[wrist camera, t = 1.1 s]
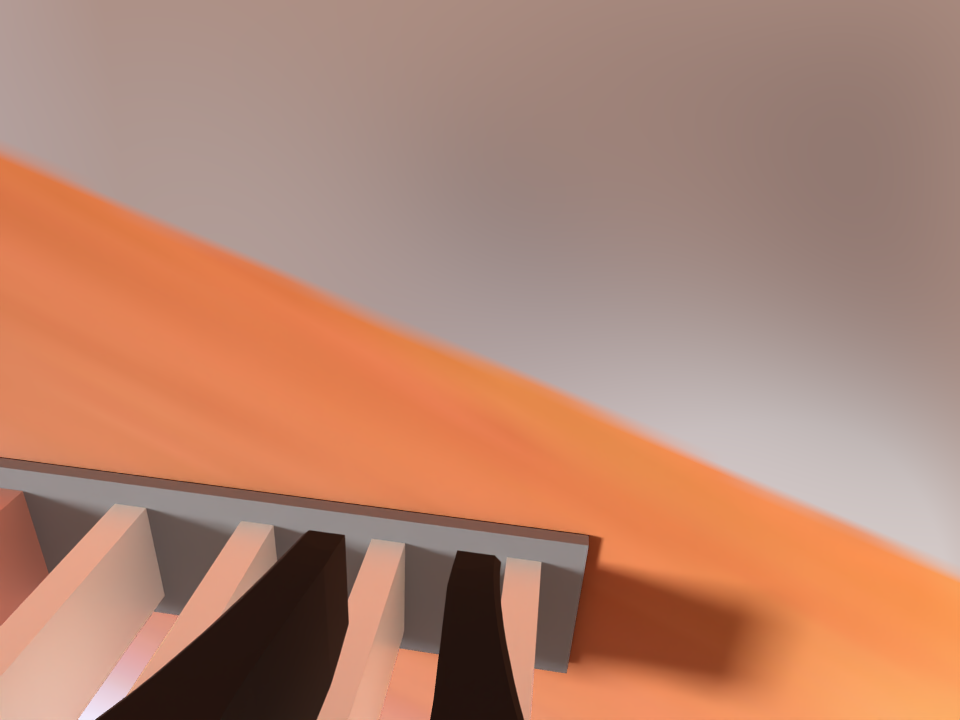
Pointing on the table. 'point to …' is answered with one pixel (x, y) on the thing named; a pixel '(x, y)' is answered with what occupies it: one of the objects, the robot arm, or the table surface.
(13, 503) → the tile
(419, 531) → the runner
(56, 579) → the tile
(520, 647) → the tile
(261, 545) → the tile
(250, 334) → the table surface
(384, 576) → the tile
